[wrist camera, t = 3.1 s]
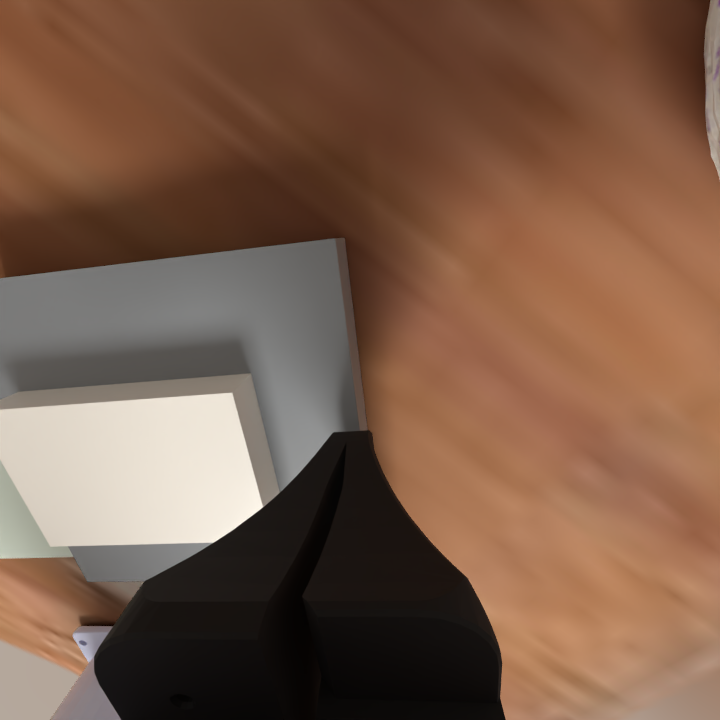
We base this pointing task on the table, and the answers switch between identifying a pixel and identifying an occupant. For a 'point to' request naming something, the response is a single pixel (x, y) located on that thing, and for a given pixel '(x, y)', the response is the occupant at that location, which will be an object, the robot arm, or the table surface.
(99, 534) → the card case
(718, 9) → the paper bowls
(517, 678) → the table surface
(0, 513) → the mat
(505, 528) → the table surface
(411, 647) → the robot arm
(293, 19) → the table surface
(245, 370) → the grey flat square block
